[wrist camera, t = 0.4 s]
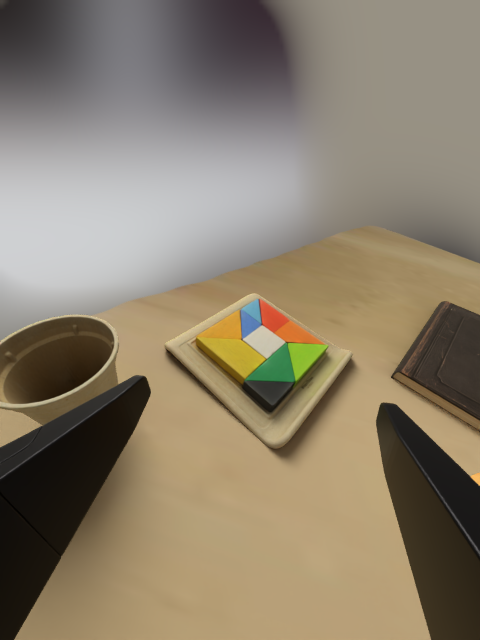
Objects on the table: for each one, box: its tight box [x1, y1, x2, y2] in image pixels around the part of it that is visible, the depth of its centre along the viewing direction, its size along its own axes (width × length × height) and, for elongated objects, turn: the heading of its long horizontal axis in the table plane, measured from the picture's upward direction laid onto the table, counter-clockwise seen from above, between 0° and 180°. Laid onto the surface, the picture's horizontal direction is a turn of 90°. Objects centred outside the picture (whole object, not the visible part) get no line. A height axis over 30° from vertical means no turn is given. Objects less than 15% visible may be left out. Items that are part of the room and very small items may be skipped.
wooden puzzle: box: [165, 294, 353, 449], centre depth 32 cm, size 18×19×4 cm
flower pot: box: [0, 315, 119, 425], centre depth 22 cm, size 9×9×9 cm
